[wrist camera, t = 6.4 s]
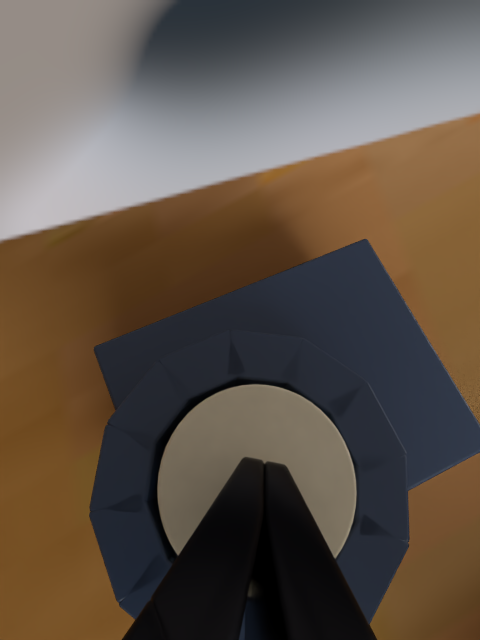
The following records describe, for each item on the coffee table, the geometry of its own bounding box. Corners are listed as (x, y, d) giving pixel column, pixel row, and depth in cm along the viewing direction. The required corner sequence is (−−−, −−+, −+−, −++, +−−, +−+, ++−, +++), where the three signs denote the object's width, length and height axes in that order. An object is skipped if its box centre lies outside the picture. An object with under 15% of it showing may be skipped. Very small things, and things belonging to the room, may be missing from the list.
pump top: (207, 601, 10) (205, 643, 8) (145, 440, 11) (127, 431, 9) (354, 522, 11) (394, 537, 8) (283, 377, 12) (301, 355, 9)
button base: (184, 633, 14) (164, 751, 8) (97, 387, 16) (31, 341, 10) (445, 490, 15) (580, 502, 10) (332, 288, 18) (388, 204, 12)
